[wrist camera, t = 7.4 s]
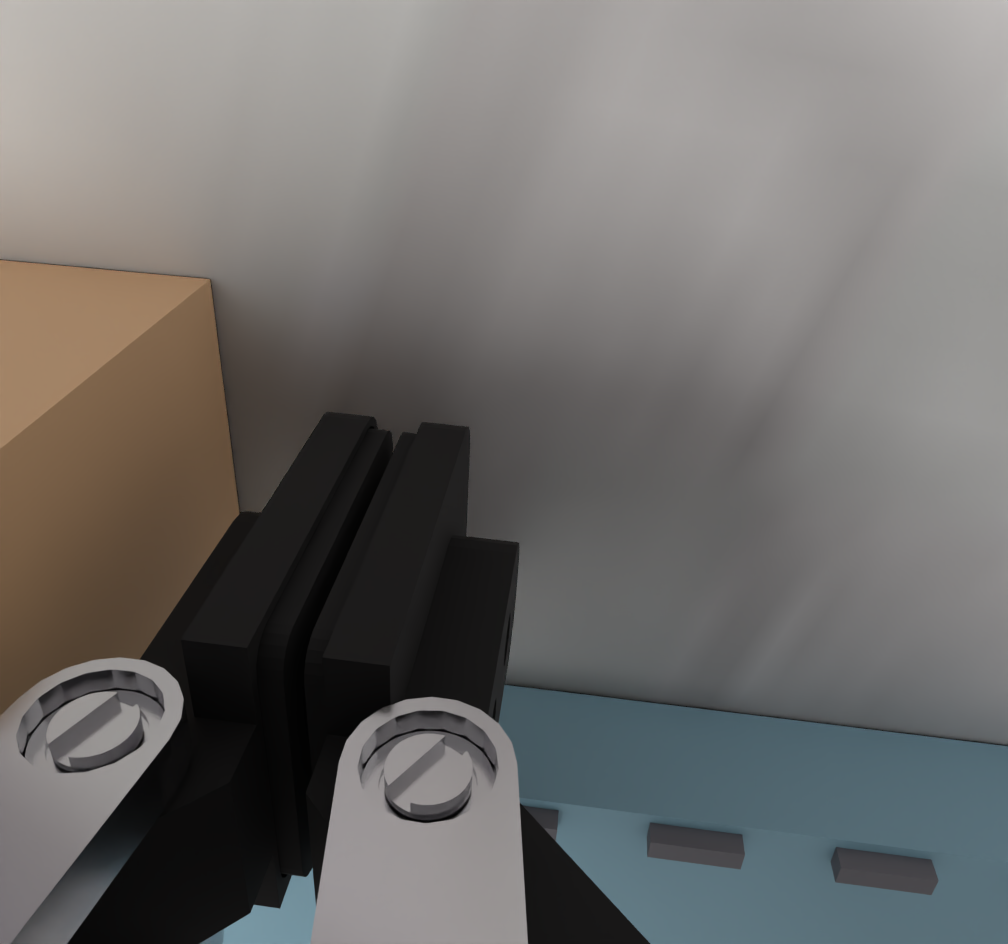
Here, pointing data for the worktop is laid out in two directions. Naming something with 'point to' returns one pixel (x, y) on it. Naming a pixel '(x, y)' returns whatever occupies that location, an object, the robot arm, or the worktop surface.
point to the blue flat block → (750, 825)
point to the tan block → (104, 461)
